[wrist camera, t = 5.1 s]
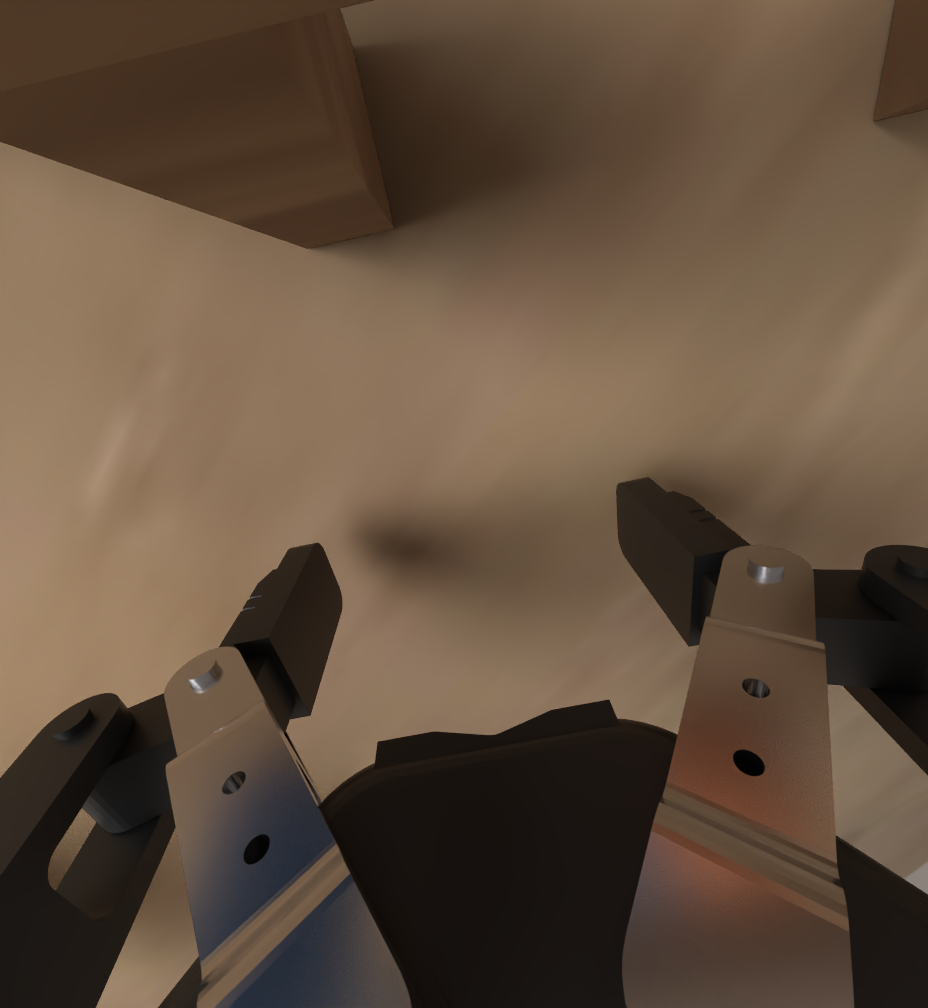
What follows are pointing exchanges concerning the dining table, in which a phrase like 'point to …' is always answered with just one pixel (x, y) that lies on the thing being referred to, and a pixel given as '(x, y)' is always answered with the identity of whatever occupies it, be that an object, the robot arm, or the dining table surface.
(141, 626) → the dining table surface
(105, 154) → the bridge
